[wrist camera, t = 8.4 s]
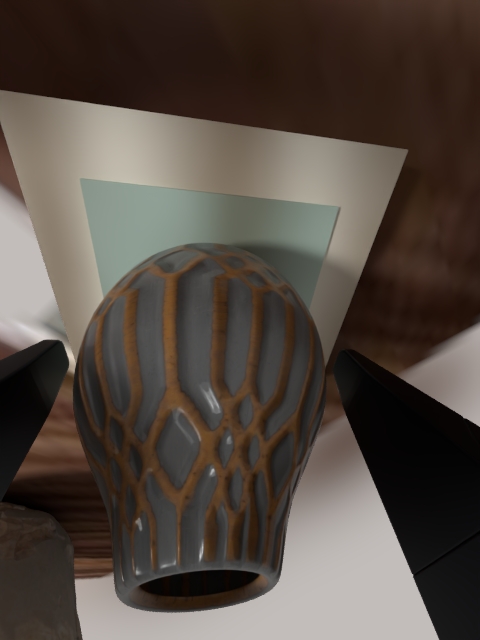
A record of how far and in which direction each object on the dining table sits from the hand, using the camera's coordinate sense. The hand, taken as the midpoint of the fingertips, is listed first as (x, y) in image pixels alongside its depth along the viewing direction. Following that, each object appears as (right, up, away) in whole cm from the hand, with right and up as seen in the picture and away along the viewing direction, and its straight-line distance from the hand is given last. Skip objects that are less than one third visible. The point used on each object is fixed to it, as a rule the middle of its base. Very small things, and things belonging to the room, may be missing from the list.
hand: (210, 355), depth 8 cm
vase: (0, +2, +3) cm, 4 cm away
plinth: (-1, +3, +6) cm, 6 cm away
